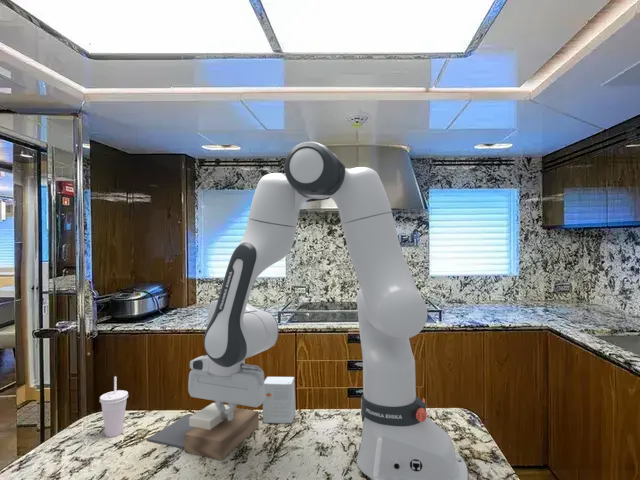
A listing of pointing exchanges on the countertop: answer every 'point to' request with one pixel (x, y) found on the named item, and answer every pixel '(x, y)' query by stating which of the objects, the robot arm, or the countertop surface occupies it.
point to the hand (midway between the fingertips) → (226, 419)
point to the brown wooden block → (222, 435)
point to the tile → (206, 417)
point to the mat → (173, 433)
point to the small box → (279, 400)
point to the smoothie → (114, 410)
